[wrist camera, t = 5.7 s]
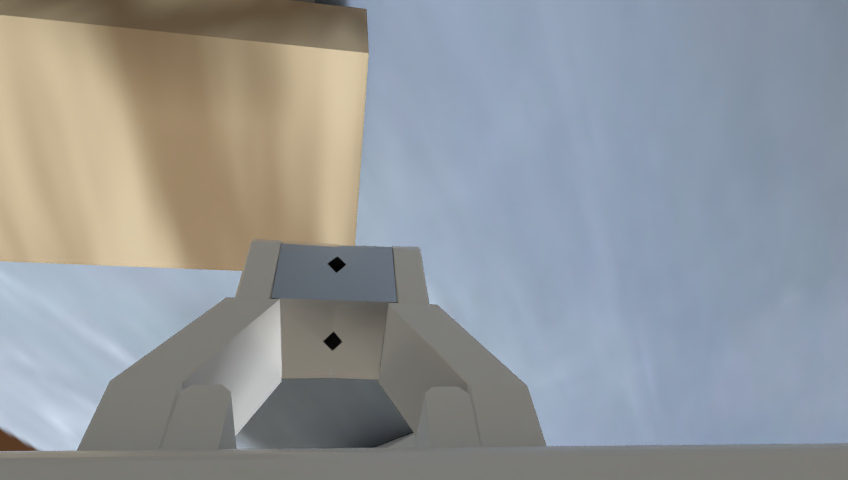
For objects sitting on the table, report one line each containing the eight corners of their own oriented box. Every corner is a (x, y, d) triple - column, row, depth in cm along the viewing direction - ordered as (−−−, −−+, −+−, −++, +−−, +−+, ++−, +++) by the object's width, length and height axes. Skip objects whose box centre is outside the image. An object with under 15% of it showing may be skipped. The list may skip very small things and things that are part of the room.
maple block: (368, 53, 11) (-186, -5, 10) (352, 275, 15) (-60, 258, 13) (366, 9, 15) (-50, -40, 13) (353, 199, 18) (22, 178, 16)
